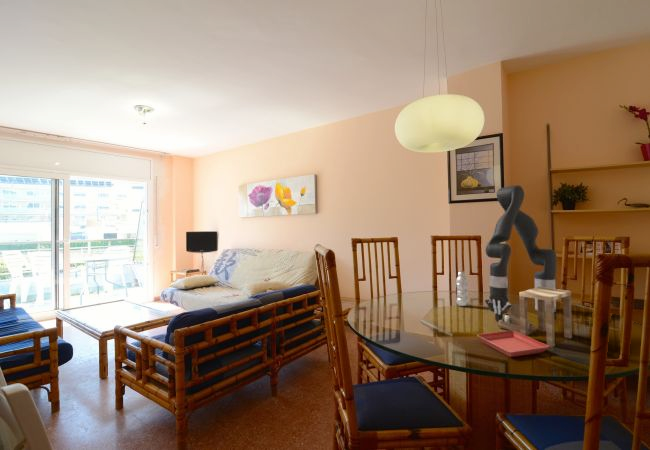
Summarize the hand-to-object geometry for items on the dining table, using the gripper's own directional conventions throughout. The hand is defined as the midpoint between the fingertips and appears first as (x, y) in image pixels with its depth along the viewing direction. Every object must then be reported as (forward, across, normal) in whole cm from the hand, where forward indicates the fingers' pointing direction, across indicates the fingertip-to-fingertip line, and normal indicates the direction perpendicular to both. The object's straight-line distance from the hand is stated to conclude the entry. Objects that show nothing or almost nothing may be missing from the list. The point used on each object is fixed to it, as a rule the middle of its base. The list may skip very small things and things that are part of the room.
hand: (499, 321), depth 152 cm
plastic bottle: (+2, -31, +16) cm, 35 cm away
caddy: (+1, +8, 0) cm, 8 cm away
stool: (+2, +20, +1) cm, 20 cm away
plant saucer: (+2, +17, -20) cm, 27 cm away
